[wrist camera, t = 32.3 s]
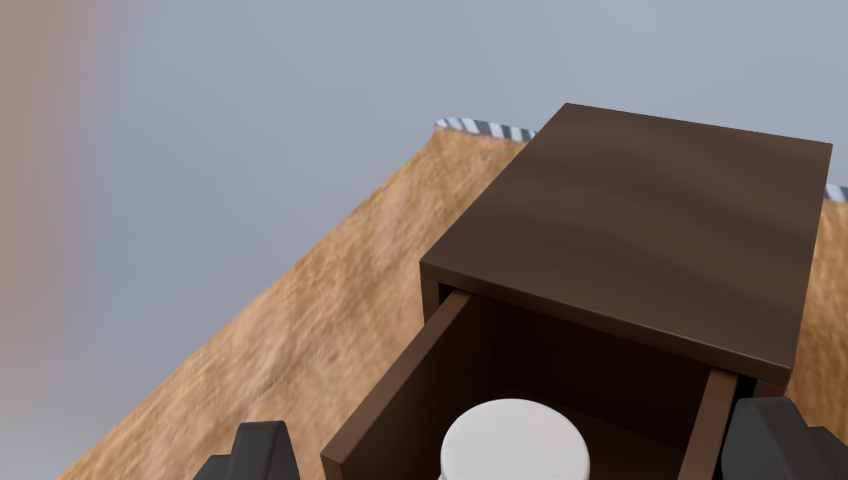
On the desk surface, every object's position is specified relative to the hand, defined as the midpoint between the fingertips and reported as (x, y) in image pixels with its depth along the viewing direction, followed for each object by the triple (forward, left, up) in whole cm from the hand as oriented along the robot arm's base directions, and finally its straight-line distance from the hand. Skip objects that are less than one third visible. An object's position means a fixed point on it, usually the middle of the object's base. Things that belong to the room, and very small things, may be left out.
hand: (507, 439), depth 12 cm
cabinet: (+17, +2, -15) cm, 23 cm away
